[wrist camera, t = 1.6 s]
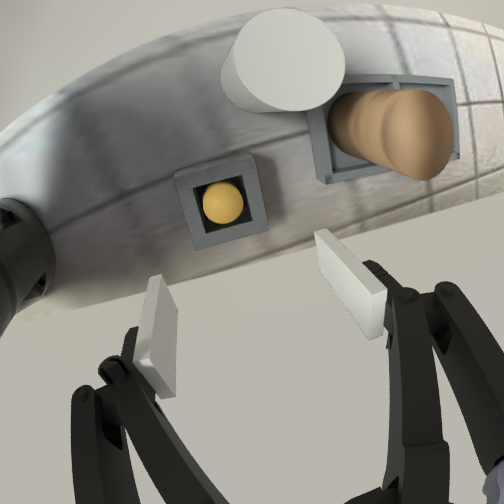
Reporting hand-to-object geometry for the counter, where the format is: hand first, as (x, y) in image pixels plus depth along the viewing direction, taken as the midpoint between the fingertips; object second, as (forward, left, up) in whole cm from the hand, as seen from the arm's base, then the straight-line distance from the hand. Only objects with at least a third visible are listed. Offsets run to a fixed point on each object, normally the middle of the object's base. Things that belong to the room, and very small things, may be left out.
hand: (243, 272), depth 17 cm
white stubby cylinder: (+7, +12, -18) cm, 22 cm away
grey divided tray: (+23, +5, -17) cm, 29 cm away
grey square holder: (0, 0, -17) cm, 17 cm away
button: (0, 0, -16) cm, 16 cm away
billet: (+18, +5, -17) cm, 25 cm away
